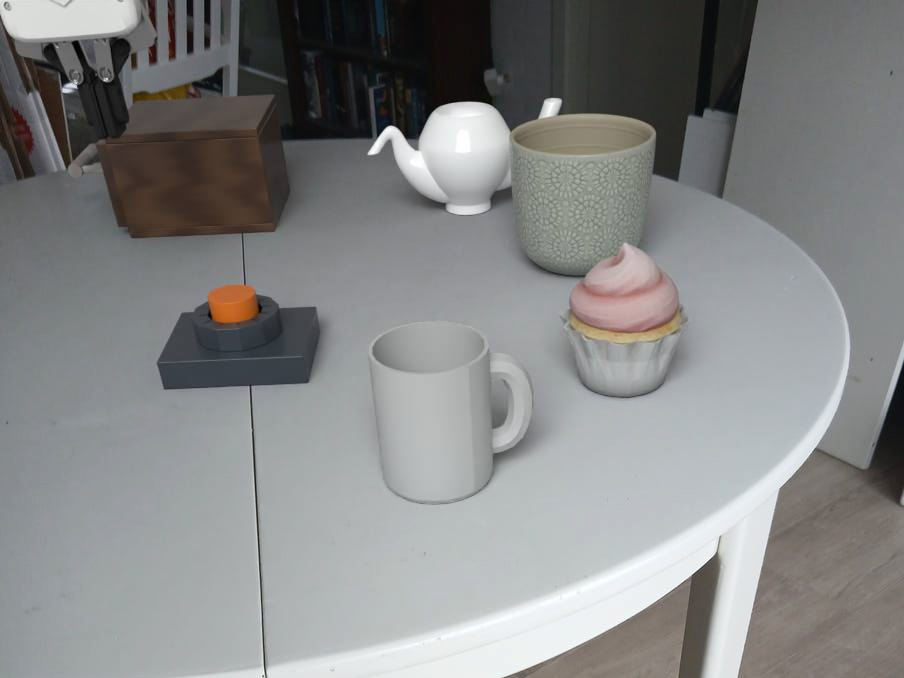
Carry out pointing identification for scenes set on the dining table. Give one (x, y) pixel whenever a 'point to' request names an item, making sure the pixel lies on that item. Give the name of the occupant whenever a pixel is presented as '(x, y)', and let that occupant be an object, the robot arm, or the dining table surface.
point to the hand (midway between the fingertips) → (112, 134)
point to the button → (233, 303)
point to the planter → (580, 187)
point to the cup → (442, 408)
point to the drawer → (85, 166)
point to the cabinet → (201, 166)
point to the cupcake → (624, 324)
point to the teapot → (459, 154)
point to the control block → (240, 348)
